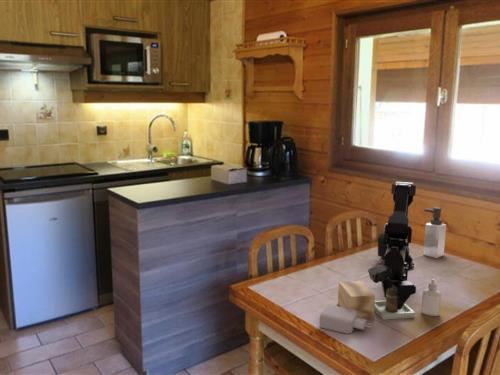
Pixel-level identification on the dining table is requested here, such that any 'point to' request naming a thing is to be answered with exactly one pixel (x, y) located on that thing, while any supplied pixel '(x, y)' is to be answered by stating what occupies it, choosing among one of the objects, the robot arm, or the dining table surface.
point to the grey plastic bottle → (341, 319)
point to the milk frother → (383, 245)
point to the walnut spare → (391, 301)
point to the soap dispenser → (434, 235)
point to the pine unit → (357, 298)
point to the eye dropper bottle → (431, 300)
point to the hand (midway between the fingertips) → (392, 303)
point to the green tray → (402, 313)
